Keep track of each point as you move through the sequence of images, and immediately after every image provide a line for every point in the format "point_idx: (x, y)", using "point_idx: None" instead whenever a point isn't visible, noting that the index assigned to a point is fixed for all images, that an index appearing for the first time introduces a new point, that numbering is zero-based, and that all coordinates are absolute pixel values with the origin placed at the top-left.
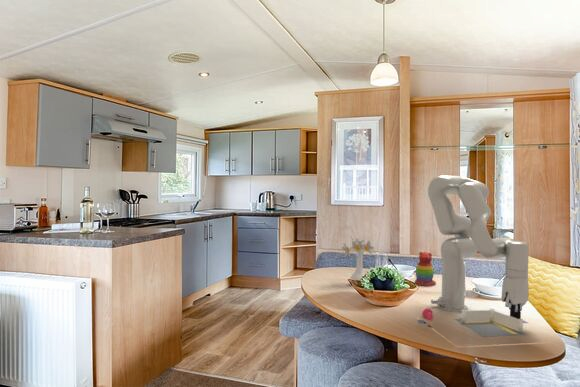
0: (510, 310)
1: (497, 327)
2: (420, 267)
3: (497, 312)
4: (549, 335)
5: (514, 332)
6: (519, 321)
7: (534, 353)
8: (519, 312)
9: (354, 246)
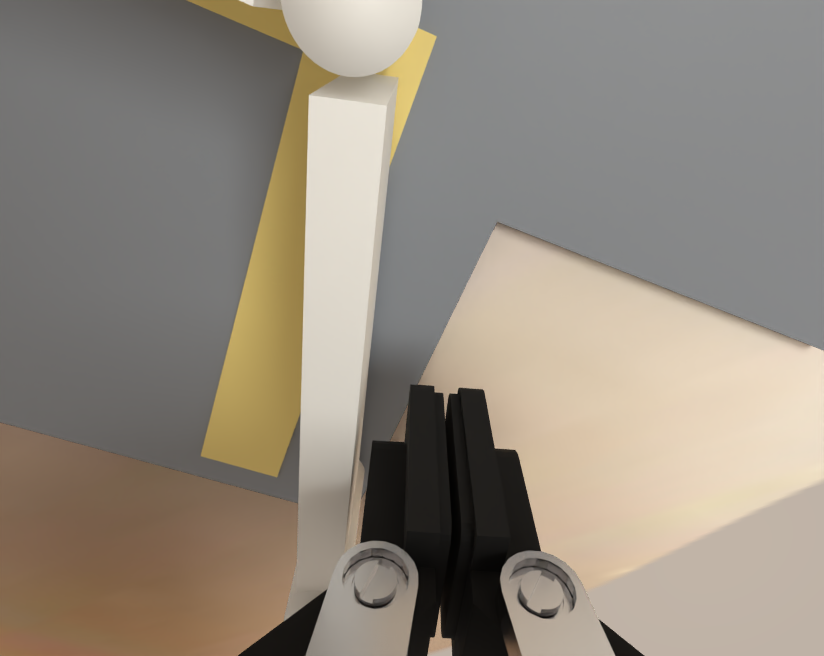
0: (405, 522)
1: (208, 248)
2: None
3: (307, 216)
4: (593, 566)
5: (267, 442)
6: (291, 590)
7: (75, 644)
8: (448, 636)
9: None
